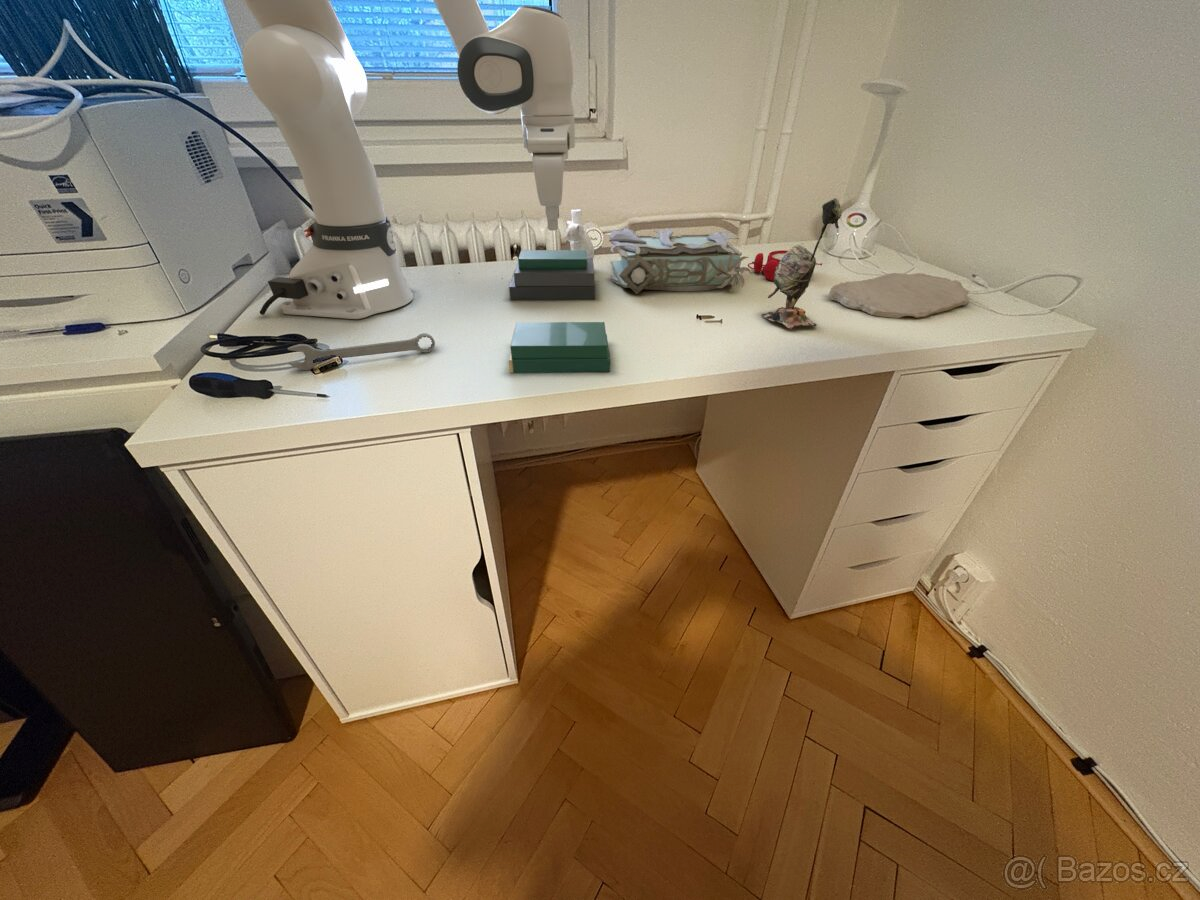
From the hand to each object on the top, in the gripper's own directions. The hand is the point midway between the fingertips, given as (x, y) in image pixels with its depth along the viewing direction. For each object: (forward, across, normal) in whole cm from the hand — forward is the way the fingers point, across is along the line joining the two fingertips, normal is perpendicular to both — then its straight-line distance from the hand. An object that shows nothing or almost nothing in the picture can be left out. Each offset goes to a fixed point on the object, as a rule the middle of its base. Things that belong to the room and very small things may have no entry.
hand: (553, 223), depth 90 cm
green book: (+8, 0, 0) cm, 8 cm away
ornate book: (+13, -8, +26) cm, 30 cm away
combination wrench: (+12, +31, -28) cm, 43 cm away
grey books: (+12, 0, -1) cm, 13 cm away
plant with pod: (+14, +16, +41) cm, 46 cm away
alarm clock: (+14, -10, +49) cm, 52 cm away
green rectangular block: (+12, +31, +1) cm, 34 cm away
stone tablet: (+14, +6, +69) cm, 71 cm away
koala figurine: (+13, -15, +4) cm, 20 cm away
